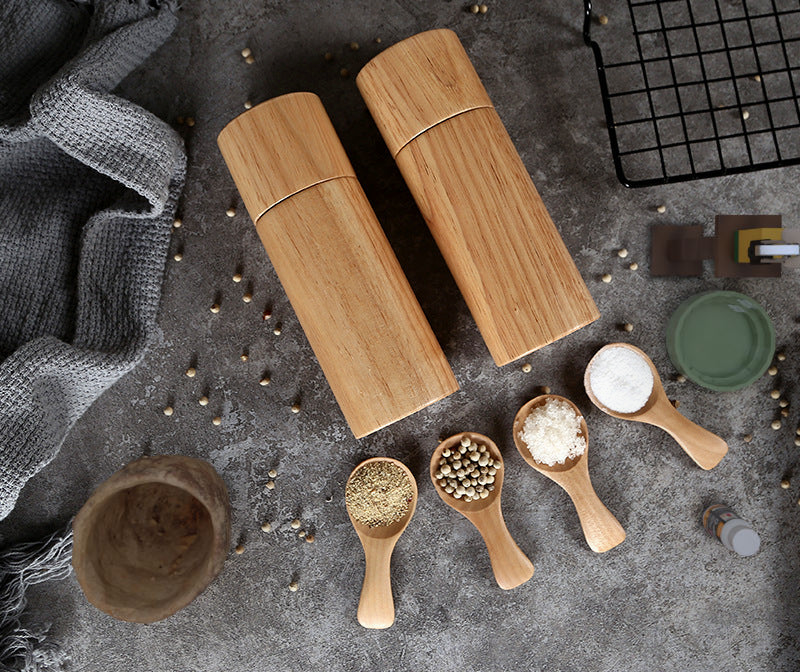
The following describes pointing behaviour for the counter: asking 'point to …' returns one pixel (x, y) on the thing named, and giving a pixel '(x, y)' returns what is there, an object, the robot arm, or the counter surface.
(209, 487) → the brown pot
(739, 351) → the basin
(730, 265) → the stand
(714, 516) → the pill bottle
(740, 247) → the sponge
